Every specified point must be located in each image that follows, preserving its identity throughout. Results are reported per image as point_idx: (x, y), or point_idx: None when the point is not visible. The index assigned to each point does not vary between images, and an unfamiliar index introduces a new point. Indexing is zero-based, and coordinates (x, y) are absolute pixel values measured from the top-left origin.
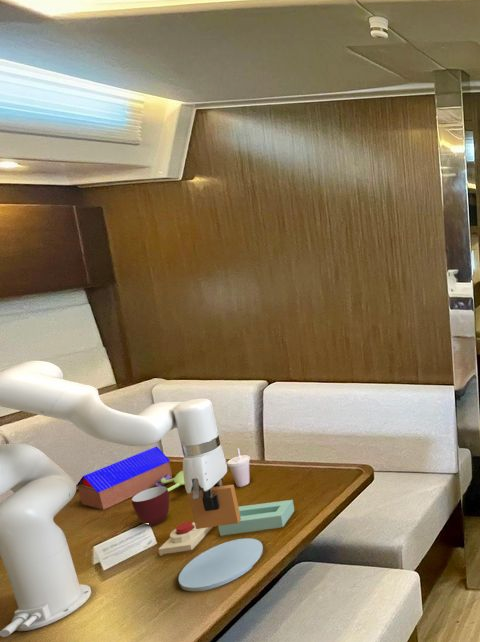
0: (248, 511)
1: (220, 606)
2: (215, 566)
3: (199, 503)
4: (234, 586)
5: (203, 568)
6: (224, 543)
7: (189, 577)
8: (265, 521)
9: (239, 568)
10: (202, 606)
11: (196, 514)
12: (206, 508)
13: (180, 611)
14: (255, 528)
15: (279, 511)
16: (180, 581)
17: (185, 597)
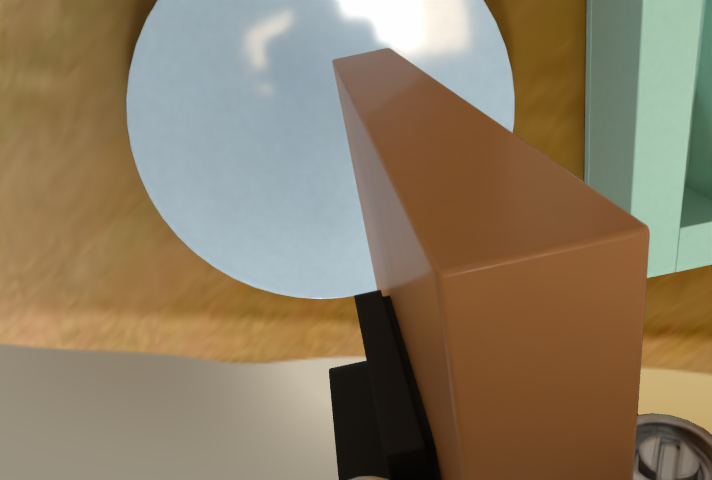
0: None
1: (77, 318)
2: (286, 129)
3: (395, 278)
4: (189, 292)
5: (270, 66)
6: (484, 23)
7: (196, 39)
8: (616, 191)
9: (274, 266)
10: (61, 244)
11: (356, 136)
12: (332, 370)
13: (11, 164)
14: (597, 120)
15: (673, 249)
16: (159, 8)
17: (93, 111)
